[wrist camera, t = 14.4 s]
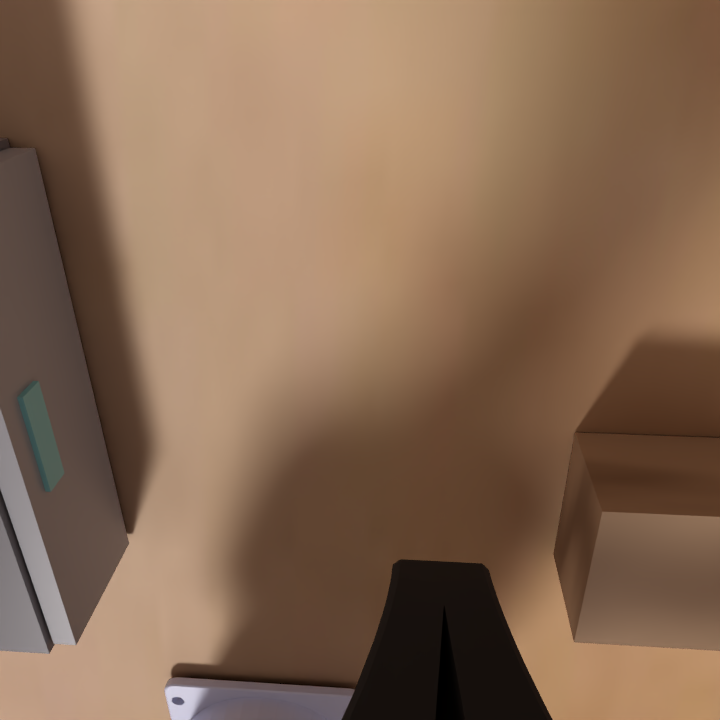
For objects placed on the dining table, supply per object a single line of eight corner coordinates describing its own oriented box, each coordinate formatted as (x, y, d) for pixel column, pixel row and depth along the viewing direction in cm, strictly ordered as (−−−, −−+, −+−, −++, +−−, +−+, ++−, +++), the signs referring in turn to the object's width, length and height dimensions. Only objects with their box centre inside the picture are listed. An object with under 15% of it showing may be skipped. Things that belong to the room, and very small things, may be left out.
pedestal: (706, 562, 22) (751, 652, 19) (553, 554, 23) (574, 642, 20) (747, 439, 20) (806, 520, 17) (574, 432, 20) (602, 511, 17)
